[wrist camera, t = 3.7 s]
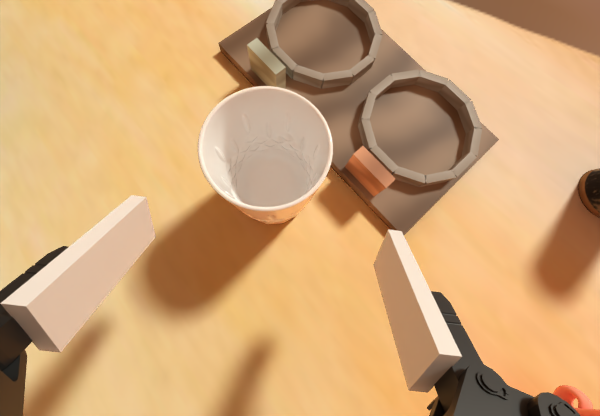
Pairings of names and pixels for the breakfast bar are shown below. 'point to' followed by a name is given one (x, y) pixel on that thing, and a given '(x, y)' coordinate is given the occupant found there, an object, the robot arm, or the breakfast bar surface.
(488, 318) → the breakfast bar surface
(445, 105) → the board
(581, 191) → the mug
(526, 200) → the breakfast bar surface
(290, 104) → the white cup
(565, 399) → the teapot
